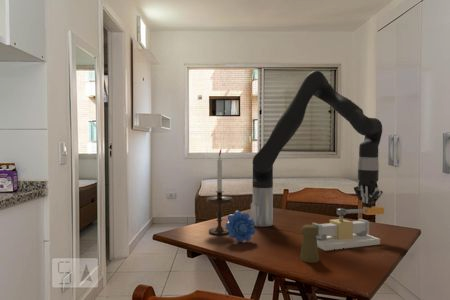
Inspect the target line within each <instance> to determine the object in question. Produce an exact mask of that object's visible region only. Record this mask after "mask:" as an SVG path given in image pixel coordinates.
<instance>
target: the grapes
mask: <svg viewBox="0 0 450 300" xmlns="http://www.w3.org/2000/svg"><path fill="white" fill-rule="evenodd" d="M227 221H228V222H226V223H225V228H227V229H228V230H230V231H229V234H228V235H229V237H230V238H231V239H236V242H238V243H242V242H244V241H246V242H250V241H251V240H252V236H254V235H256V228H254V225H255V222H254V220H253V219H251V215H250V214H249V213H248V212H243V213H242V212H241V211H239V210H235V211H234V214H229V215H228V216H227Z"/></svg>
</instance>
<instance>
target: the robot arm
mask: <svg viewBox="0 0 450 300" xmlns="http://www.w3.org/2000/svg"><path fill="white" fill-rule="evenodd" d="M313 97H315V98H317V99H319V100H321V101H323V102H325V103H326V104H327V105H329V106H330V107H331V108H332V109H334V110H335V111H336V112H337V113H338V114H339V115H340V116H341V117H343V118H344V119H345V120H346V121H347V122H348V123H349V124H350V125H351V126H352V128H353V129H354V130H355V131H356V133H358V134H360V135H362V136H364V139H363V141H362V142H360V144H359V147H358V149H359V150H358V160H357V161H358V162H357V163H358V164H357V180H358V184H357V186H354V187H353V190H354V192H355V194H356V196H357V198H358V200H359V201H361V202H362V206H363V207H372V204H373V203H376V202H377V201H378V200H379V198H380V197H382V195H383V194H384V193H383V190H380V189H379V188H378V187H379V185H378V181H379V175H380V174H379V170H380V167H379V166H380V165H379V145H380V143H381V138H382V136H383V135H382V134H383V124H382V121H381V120H380V119H378V118H376V117H368V116H366V115H365V114H364V110H363V109H362V108H361V107H360V106H359V105H357V103H355V102H354V101H352V100H351V99H349V98H348V97H345V96H344V95H342V94H340V93H339V92H337V91H336V89H335V88H334V87H332V85H331V84H330V83H329V81H328V79H327V76H325V75H324V73H322V72H321V71H319V70H313V71H310V72H309V73H308V74H307V75H306V76H305V78H304V79H303V81H302V83H301V85H300V86H299V89H298V90H297V92H296V94H295V96H294V97H293V99H292V101H291V102H290V103H289V105H288V106H287V108H286V109H285V111H284V112H283V114H281V117H280V118H278V121H277V122H276V124H275V126H274V128H273V129H272V131H271V133H270V136H269V137H268V140H267V141H266V142H265V143H264V145H263V146H262V147H261V149H259V151H258V152H257V153H256V154H255V155H254V156H253V159H252V202H251V203H250V219H253V220H254V222H255V225H254V226H255V227H261V228H263V227H271V226H273V224H274V222H273V221H274V219H273V217H274V211H273V210H274V208H273V207H274V203H273V202H274V200H273V199H274V198H273V197H274V191H273V190H274V177H273V176H274V175H273V173H274V167H273V166H274V163H275V161H276V160H277V158H278V157H279V155H280V152H281V151H282V150H283V148H284V147H285V146H286V144H288V143H289V141H290V140H291V139H292V137H294V135H296V132H297V131H298V129H299V128H300V127H301V125H302V123H303V120H304V118H305V115H306V110H307V107H308V104H309V102H310V100H311V99H312V98H313ZM363 207H362V208H363ZM254 226H253V227H254Z"/></svg>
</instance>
